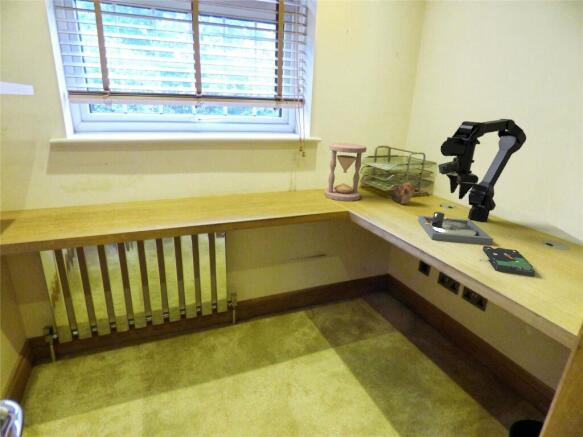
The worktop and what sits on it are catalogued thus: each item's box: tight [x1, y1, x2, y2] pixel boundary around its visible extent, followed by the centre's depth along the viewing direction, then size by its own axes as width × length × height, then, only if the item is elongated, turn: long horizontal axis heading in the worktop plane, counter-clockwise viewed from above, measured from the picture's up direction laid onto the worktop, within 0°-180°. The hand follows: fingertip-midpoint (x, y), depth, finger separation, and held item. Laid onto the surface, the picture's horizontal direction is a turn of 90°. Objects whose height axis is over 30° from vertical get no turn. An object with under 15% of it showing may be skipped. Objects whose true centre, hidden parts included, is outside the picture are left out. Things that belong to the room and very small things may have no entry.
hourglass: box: [324, 142, 367, 202], centre depth 168 cm, size 18×18×25 cm
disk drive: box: [482, 245, 536, 277], centre depth 107 cm, size 10×3×15 cm
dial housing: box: [417, 215, 493, 246], centre depth 129 cm, size 20×20×3 cm
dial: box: [429, 211, 477, 236], centre depth 128 cm, size 16×16×7 cm
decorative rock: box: [391, 180, 415, 205], centre depth 166 cm, size 12×6×11 cm, turn 16°
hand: (455, 195), depth 136 cm, fingers open, 9 cm apart
